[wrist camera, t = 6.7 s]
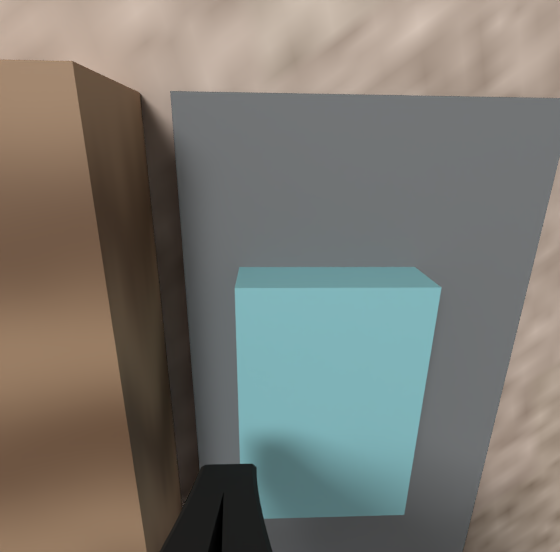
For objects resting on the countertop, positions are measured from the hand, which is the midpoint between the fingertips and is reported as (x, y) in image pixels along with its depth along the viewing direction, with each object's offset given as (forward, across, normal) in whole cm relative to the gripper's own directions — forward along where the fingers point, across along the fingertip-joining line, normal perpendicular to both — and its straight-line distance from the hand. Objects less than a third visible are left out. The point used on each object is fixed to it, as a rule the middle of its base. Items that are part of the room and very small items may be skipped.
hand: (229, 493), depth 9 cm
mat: (+5, -4, 0) cm, 7 cm away
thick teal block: (+3, -3, 0) cm, 4 cm away
